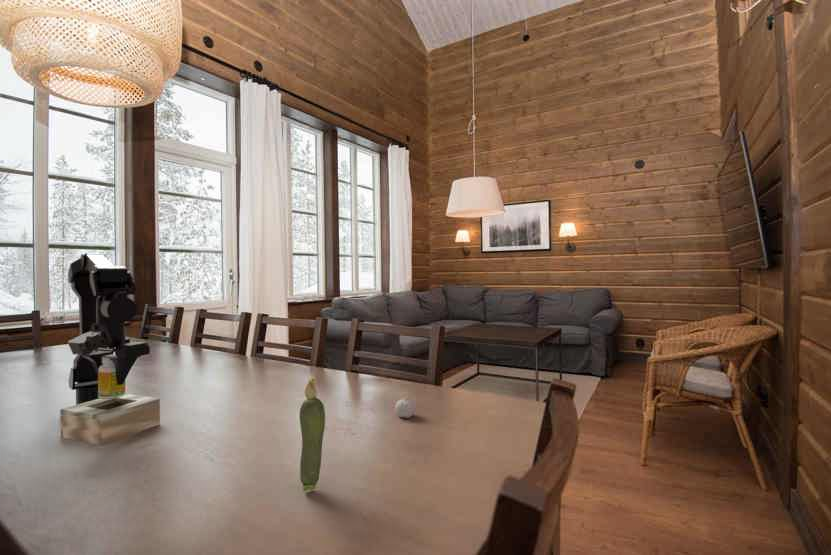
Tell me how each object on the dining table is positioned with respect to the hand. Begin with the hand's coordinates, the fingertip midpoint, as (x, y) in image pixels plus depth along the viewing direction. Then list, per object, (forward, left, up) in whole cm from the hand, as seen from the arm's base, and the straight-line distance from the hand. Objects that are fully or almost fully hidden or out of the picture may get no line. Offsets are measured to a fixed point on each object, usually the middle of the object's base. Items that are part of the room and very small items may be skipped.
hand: (111, 383), depth 104 cm
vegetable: (+61, -8, -12) cm, 63 cm away
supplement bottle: (0, 0, -3) cm, 3 cm away
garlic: (+63, +33, -12) cm, 72 cm away
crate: (0, 0, -11) cm, 11 cm away
